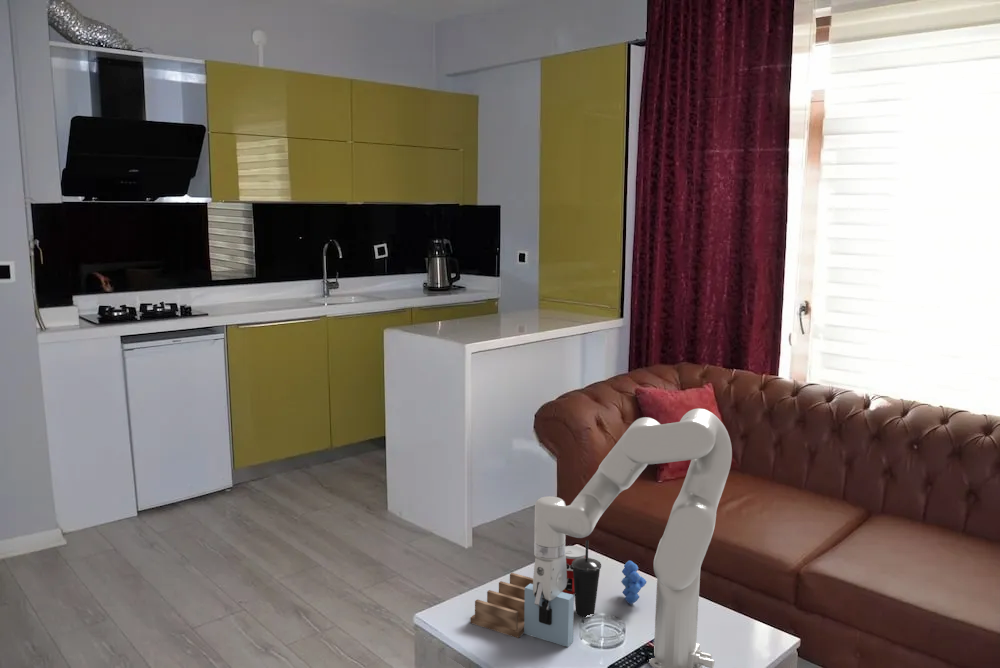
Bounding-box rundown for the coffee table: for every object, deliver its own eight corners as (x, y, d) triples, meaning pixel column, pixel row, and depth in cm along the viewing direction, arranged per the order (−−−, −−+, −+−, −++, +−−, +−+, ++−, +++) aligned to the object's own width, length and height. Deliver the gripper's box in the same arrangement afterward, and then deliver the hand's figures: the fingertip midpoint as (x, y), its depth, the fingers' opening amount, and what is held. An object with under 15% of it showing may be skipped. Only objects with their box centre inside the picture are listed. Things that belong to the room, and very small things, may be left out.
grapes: (651, 613, 196) (653, 570, 194) (626, 614, 195) (627, 570, 194) (640, 592, 207) (642, 551, 206) (616, 593, 207) (618, 551, 205)
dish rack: (554, 604, 200) (554, 583, 199) (518, 638, 183) (518, 615, 182) (509, 591, 207) (509, 571, 206) (470, 623, 190) (470, 600, 189)
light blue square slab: (572, 641, 181) (573, 595, 180) (567, 647, 179) (568, 599, 177) (529, 628, 187) (530, 583, 186) (524, 633, 185) (524, 587, 183)
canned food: (552, 585, 211) (553, 548, 210) (576, 580, 214) (577, 543, 213) (566, 597, 204) (566, 558, 203) (590, 591, 207) (592, 553, 206)
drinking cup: (598, 622, 191) (601, 547, 188) (569, 618, 192) (570, 545, 190) (600, 607, 198) (602, 536, 196) (572, 604, 200) (573, 533, 197)
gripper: (548, 564, 171) (547, 639, 174) (577, 540, 185) (576, 610, 188) (520, 557, 175) (519, 630, 177) (550, 534, 189) (549, 602, 191)
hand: (548, 619), depth 182 cm, fingers closed on light blue square slab, 2 cm apart
